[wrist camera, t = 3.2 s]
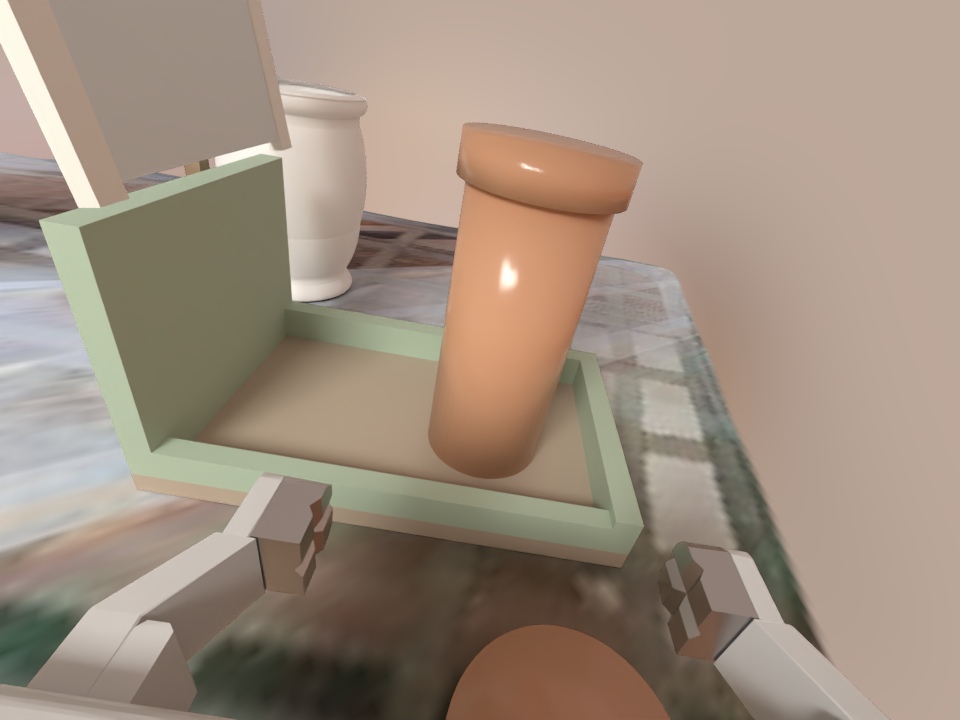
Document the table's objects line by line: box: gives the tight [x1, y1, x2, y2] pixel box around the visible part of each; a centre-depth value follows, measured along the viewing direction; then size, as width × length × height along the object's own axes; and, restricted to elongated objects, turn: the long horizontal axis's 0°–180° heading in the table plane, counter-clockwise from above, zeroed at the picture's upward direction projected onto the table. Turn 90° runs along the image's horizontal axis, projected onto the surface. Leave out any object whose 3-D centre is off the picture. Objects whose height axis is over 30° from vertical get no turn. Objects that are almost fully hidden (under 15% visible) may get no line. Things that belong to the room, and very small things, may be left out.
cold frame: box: [39, 154, 644, 568], centre depth 23 cm, size 22×14×12 cm, turn 85°
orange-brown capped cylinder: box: [428, 123, 643, 479], centre depth 21 cm, size 7×7×15 cm
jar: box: [215, 78, 367, 302], centre depth 35 cm, size 11×10×15 cm
